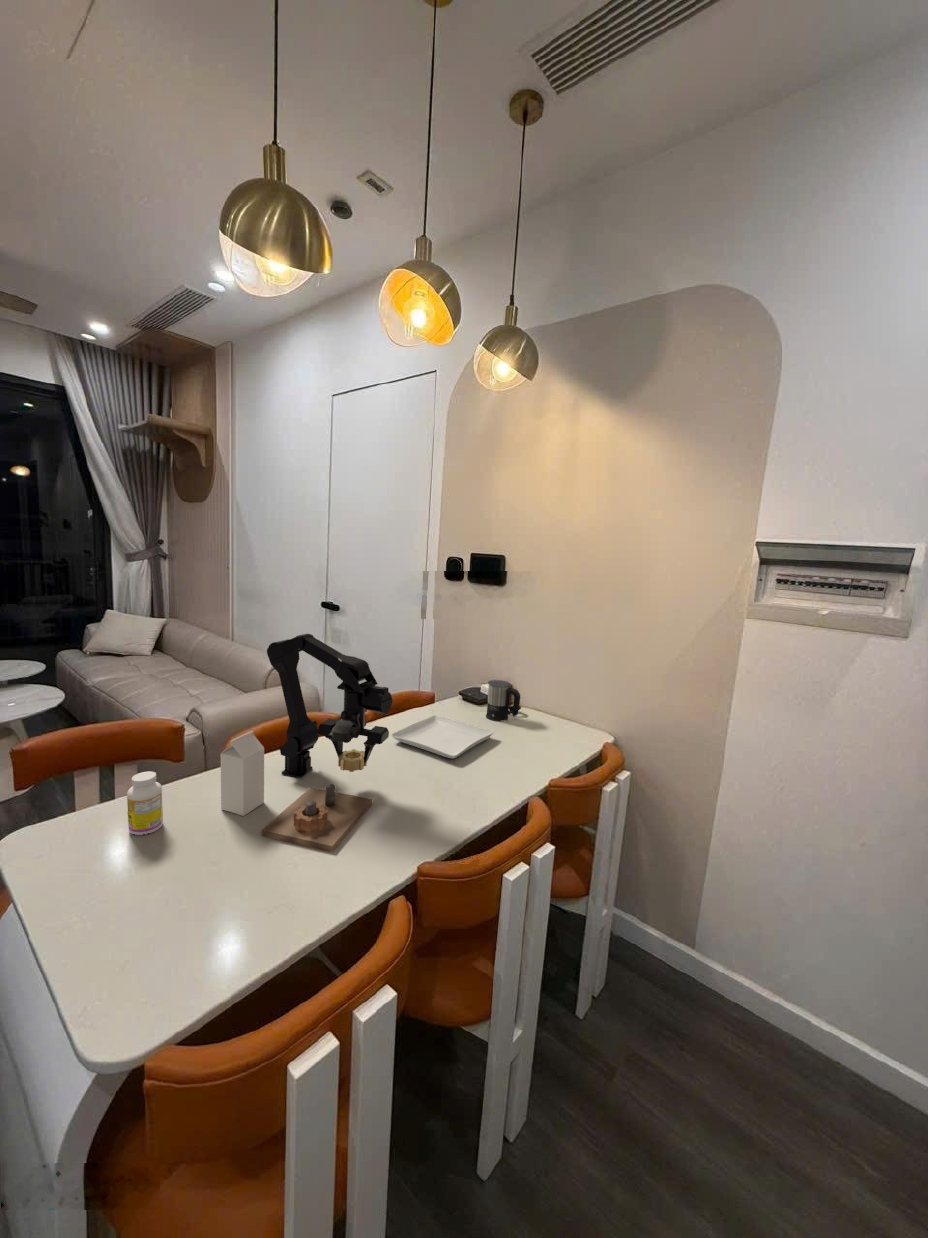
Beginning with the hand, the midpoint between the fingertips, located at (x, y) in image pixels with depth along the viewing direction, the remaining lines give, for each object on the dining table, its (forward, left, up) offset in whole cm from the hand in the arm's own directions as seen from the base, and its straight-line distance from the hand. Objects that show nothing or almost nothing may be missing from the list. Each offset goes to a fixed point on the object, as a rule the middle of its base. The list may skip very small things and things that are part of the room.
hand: (352, 760), depth 133 cm
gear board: (0, -16, -8) cm, 18 cm away
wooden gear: (0, 0, -2) cm, 2 cm away
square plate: (+15, +41, -9) cm, 45 cm away
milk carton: (-21, -18, -8) cm, 29 cm away
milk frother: (+31, +76, -8) cm, 83 cm away
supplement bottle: (-35, -33, -8) cm, 49 cm away
